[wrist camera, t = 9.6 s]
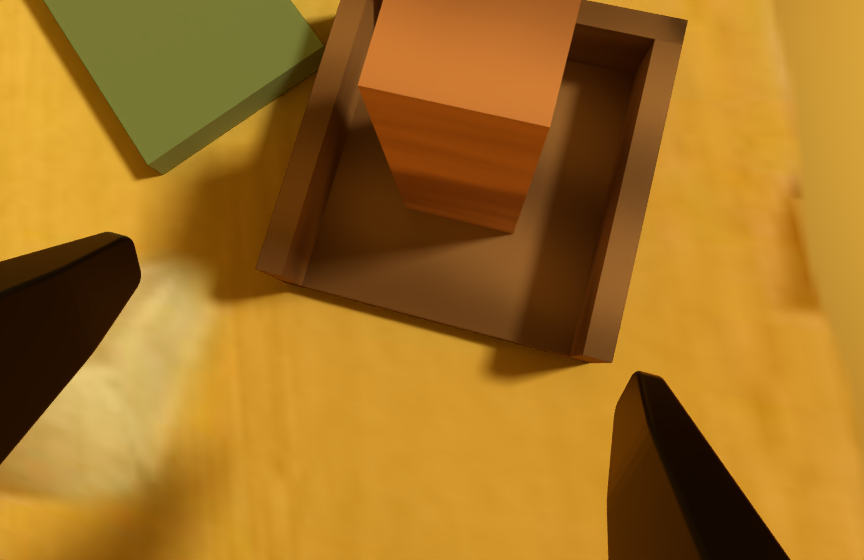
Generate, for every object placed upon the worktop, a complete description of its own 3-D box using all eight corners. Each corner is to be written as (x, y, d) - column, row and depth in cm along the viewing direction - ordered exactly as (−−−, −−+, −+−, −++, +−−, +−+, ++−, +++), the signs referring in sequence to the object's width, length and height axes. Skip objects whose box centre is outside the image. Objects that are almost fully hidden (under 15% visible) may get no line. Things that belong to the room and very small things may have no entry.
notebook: (330, 61, 25) (323, 45, 23) (163, 174, 24) (147, 164, 23) (196, -122, 27) (184, -145, 25) (40, -20, 26) (19, -38, 25)
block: (513, 234, 22) (550, 127, 12) (405, 208, 23) (357, 85, 13) (538, 130, 23) (593, -50, 13) (433, 107, 23) (408, -85, 13)
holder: (590, 363, 22) (612, 362, 19) (285, 282, 23) (255, 268, 20) (657, 67, 24) (687, 20, 20) (369, 8, 25) (354, -46, 22)
